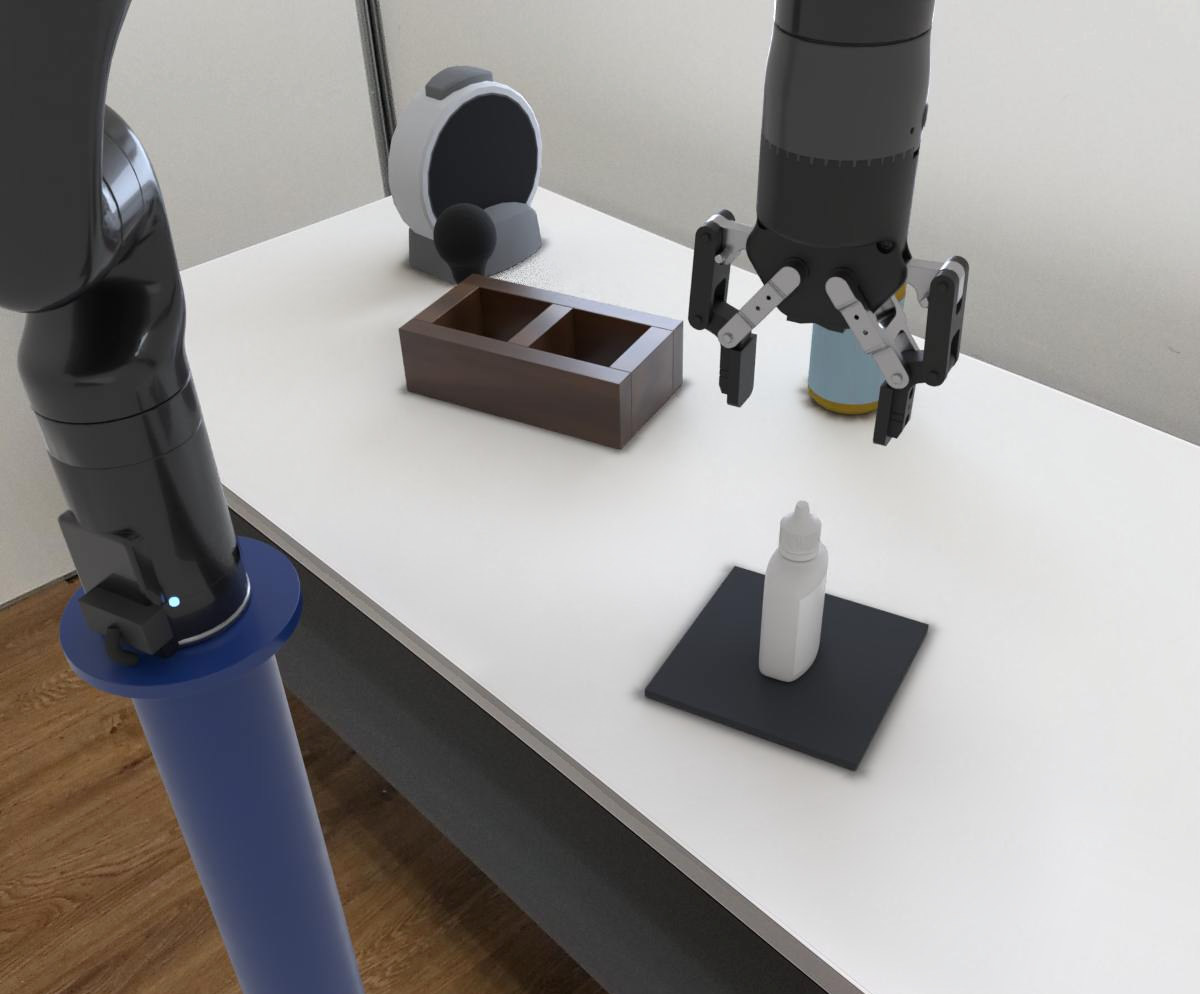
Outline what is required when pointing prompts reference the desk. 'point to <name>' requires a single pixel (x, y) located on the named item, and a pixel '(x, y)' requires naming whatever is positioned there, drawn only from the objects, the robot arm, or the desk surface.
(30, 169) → the robot arm
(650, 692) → the mat
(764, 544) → the desk surface
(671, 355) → the holder
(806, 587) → the eye dropper bottle
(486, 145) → the alarm clock
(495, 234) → the light bulb
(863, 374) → the bottle
